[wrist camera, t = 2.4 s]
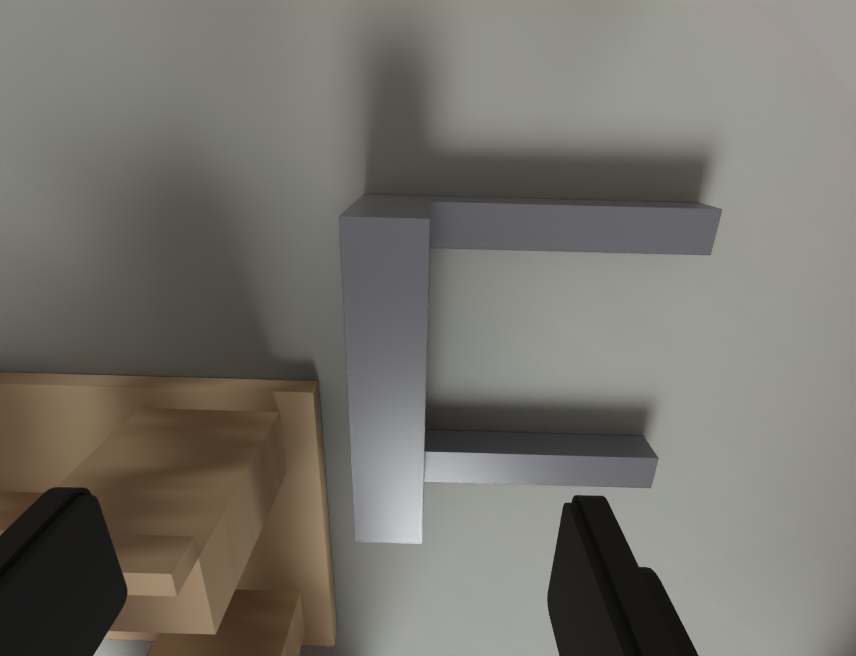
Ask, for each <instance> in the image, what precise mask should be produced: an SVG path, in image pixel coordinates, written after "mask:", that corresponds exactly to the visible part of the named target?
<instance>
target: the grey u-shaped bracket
mask: <svg viewBox="0 0 856 656" xmlns="http://www.w3.org/2000/svg"><path fill="white" fill-rule="evenodd" d="M721 212H722V209H720V208H716V207H712V206H709V205H705V204H701V203H690V202H651V201H611V200H572V199H532V198H493V197H453V196H414V195H374V194H364V195H363V196H362V197H361V198H360V199H359V200H357V201H356V202H355V203H354V204H353V205H352V206H351V207H350V208H348V209H347V210H346V211H345V212H344V213H343V214H342V215H340V216H339V221H340V242H341V262H342V283H343V304H344V324H345V345H346V365H347V386H348V406H349V427H350V447H351V468H352V488H353V509H354V529H355V542H383V543H416V544H422V527H423V498H424V482H457V483H491V484H525V485H559V486H594V487H628V488H651V486H652V482H653V478H654V474H655V470H656V466H657V462H658V457H657V455H656V454H655V452H654V451H653V449H652V448H651V447H650V445H649V444H648V442H647V441H646V439H645V438H644V436H625V435H590V434H555V433H520V432H485V431H450V430H426V393H427V353H428V312H429V271H430V248H450V249H488V250H526V251H565V252H603V253H642V254H680V255H711V251H712V248H713V244H714V240H715V236H716V232H717V228H718V224H719V220H720V216H721Z"/></svg>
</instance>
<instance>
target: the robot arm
mask: <svg viewBox="0 0 856 656" xmlns="http://www.w3.org/2000/svg"><path fill="white" fill-rule="evenodd" d="M127 591H128V590H127V585H126V582H125V579H124V576H123V573H122V570H121V567H120V564H119V561H118V558H117V555H116V552H115V549H114V546H113V543H112V540H111V537H110V534H109V531H108V528H107V525H106V522H105V519H104V516H103V513H102V510H101V507H100V504H99V501H98V499H97V497H96V496H94V495H92V494H91V492H90V490H88V489H87V488H82V487H53V488H50V489H48V490H47V491H46V492H44V493H43V494H42V495H41V496H40V497H39V498H38V499H37V500H36V501H35V502H34V503H33V504H32V505H31V506H30V507H29V508H28V509H27V510H26V511H25V512H24V513H23V514H22V515H21V516H20V517H19V518H18V519H17V520H16V521H14V522H13V523H12V524H11V525H10V526H9V527H8V528H7V529H6V530H5V531H4V532H3V533H2V534H1V535H0V656H93V655H94V653H95V652H96V650H97V649H98V647H99V645H100V644H101V642H102V641H103V639H104V637H105V636H106V634H107V633H108V631H109V629H110V628H111V626H112V625H113V623H114V621H115V620H116V618H117V617H118V615H119V613H120V612H121V610H122V608H123V606H124V604H125V602H126V598H127ZM547 601H548V611H549V615H550V619H551V623H552V628H553V632H554V636H555V640H556V644H557V648H558V652H559V656H698V654H697V652H696V650H695V648H694V646H693V644H692V642H691V640H690V638H689V636H688V634H687V632H686V630H685V628H684V626H683V624H682V622H681V620H680V618H679V616H678V614H677V612H676V610H675V608H674V606H673V604H672V602H671V600H670V598H669V596H668V595H667V593H666V591H665V589H664V587H663V585H662V583H661V581H660V579H659V578H658V576H657V574H656V573H655V572H654V571H653V570H652V569H651V568H647V567H639V566H638V564H637V562H636V560H635V558H634V556H633V554H632V552H631V549H630V547H629V545H628V543H627V541H626V539H625V537H624V535H623V533H622V530H621V528H620V526H619V524H618V522H617V520H616V518H615V516H614V514H613V511H612V509H611V507H610V505H609V503H608V501H607V500H606V498H605V497H604V496H581V495H576V496H574V497H573V499H572V503H565V504H564V506H563V510H562V516H561V522H560V527H559V533H558V538H557V544H556V550H555V555H554V561H553V566H552V572H551V578H550V583H549V589H548V598H547Z"/></svg>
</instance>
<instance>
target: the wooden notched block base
mask: <svg viewBox="0 0 856 656" xmlns="http://www.w3.org/2000/svg"><path fill="white" fill-rule="evenodd" d="M53 487H82V488H87V489H88V490H90V492H91V494H92V495H94V496H96V497H97V499H98V501H99V504H100V507H101V510H102V513H103V516H104V519H105V522H106V525H107V528H108V531H109V534H110V537H111V540H112V543H113V546H114V549H115V552H116V555H117V558H118V561H119V564H120V567H121V570H122V573H123V576H124V579H125V582H126V585H127V590H128V591H127V598H126V602H125V604H124V606H123V608H122V610H121V612H120V613H119V615H118V617H117V618H116V620H115V621H114V623H113V625H112V626H111V628H110V629H109V631H108V633H107V634H106V636H105V637H104V639H116V640H147V641H154V643H153V645H152V647H151V649H150V650H149V652H148V654H147V656H299V654H300V650H301V647H302V645H307V646H334V642H335V637H336V632H337V620H336V606H335V593H334V580H333V566H332V553H331V540H330V527H329V513H328V500H327V487H326V473H325V460H324V447H323V433H322V420H321V407H320V394H319V381H300V380H264V379H228V378H192V377H156V376H120V375H84V374H48V373H11V372H0V535H1V534H2V533H3V532H4V531H5V530H6V529H7V528H8V527H9V526H10V525H11V524H12V523H13V522H14V521H16V520H17V519H18V518H19V517H20V516H21V515H22V514H23V513H24V512H25V511H26V510H27V509H28V508H29V507H30V506H31V505H32V504H33V503H34V502H35V501H36V500H37V499H38V498H39V497H40V496H41V495H42V494H43V493H44V492H46V491H47V490H48V489H50V488H53Z"/></svg>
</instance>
